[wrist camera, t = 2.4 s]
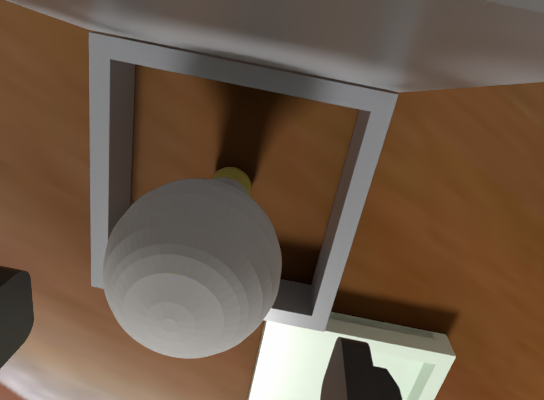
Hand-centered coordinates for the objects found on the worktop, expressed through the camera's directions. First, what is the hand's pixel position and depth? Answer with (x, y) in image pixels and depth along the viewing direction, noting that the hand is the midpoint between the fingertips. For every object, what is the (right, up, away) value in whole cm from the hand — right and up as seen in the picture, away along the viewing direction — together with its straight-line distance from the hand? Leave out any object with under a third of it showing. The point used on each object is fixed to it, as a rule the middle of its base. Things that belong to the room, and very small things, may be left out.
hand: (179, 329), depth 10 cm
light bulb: (+1, +4, +9) cm, 10 cm away
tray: (+6, -8, +14) cm, 17 cm away
